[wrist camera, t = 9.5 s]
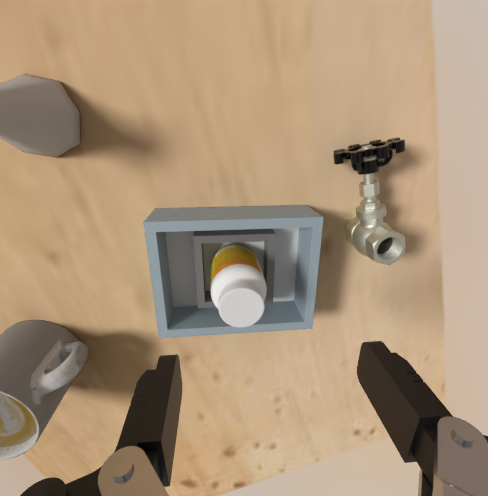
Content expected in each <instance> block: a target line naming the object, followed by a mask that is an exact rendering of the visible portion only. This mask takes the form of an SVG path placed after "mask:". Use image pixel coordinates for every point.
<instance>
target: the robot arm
mask: <svg viewBox="0 0 488 496" xmlns="http://www.w3.org/2000/svg"><path fill="white" fill-rule="evenodd" d="M357 375H358V379H359V382H360V384H361V386H362V388H363V389H364V391H365V393H366V395H367V396H368V398H369V400H370V402H371V404H372V405H373V407H374V409H375V411H376V412H377V414H378V416H379V418H380V420H381V421H382V423H383V425H384V427H385V428H386V430H387V432H388V434H389V435H390V437H391V439H392V441H393V443H394V444H395V446H396V448H397V450H398V451H399V453H400V455H401V457H402V458H403V460H404V462H405V463H407V462H417V463H418V464H419V466H420V468H421V470H420V474H419V488H418V496H488V436H485V435H482V434H481V432H480V431H479V430H477V429H476V428H475V427H474V426H472V425H471V424H469V423H468V422H466V421H464V420H462V419H459V418H456V417H453V416H452V415H451V414H450V412H449V411H448V410H447V409H446V407H445V406H444V405H443V404H442V403H441V401H440V400H439V399H438V398H437V397H436V395H435V394H434V393H433V392H432V390H431V389H430V388H429V387H428V386H427V384H426V383H425V382H423V380H422V378H421V377H420V376H419V375H418V374H416V371H415V370H414V369H413V367H412V366H411V365H410V364H409V363H408V361H406V360H405V359H404V358H402V357H401V356H400V355H398V354H397V353H391V352H390V351H389V349H388V348H387V347H386V345H385V344H384V343H383V342H381V341H374V342H363V343H362V345H361V350H360V355H359V361H358V366H357ZM181 398H182V378H181V370H180V362H179V356H178V355H166V356H160V357H159V360H158V364H157V368H156V370H146V371H145V373H144V374H143V375H142V376H141V378H140V379H139V380H138V382H137V385H136V388H135V392H134V396H133V398H132V401H131V406H130V407H129V410H128V414H127V417H126V420H125V423H124V426H123V429H122V432H121V435H120V439H119V442H118V445H117V447H116V450H115V451H114V453H113V454H112V455H111V456H110V457H109V458H108V459H107V460H106V461H105V462H104V464H103V466H102V467H100V468H99V469H98V470H96V471H94V472H93V473H91V474H89V475H86V476H84V477H82V478H79V479H77V480H75V481H72V482H70V483H68V484H65V483H64V482H63V481H62V480H61V479H59V478H47V479H43V480H41V481H39V482H37V483H35V484H34V485H32V486H31V487H29V488H28V489H27V490H26V491H24V492H23V493H22V494H21V495H20V496H169V495H168V494H167V492H166V490H165V488H164V487H167V486H170V480H171V473H172V465H173V458H174V450H175V443H176V436H177V428H178V421H179V413H180V406H181Z"/></svg>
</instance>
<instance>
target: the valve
mask: <svg viewBox="0 0 488 496" xmlns="http://www.w3.org/2000/svg"><path fill="white" fill-rule="evenodd" d="M392 149H396V153H400V152H403V151H405V140H400V138H392V139H389V140H387V141H383V142H381V140H374V141H370V142H369V144H364V145H359V144H354V145H350V146H348V149H339V150H335V151H334V163H335V164H342V163H343V158H344V159H351V163H352V167H353V169H354V170H355V171H357V172H358V174H363V180H364V181H363V182H361V183H360V184H359V190H360V196H362V197H364V200H363V201H361V202H360V203H361V205H359V206H357V207H356V217H355V218H353V219H352V220H351V221H350V222H349V223H348V224H346V225H345V230H346V239H347V241H348V242H350V243H351V244H352V245H354V247H355V248H356V250H357V251H358V252H359V253H361V254H363V255H365V256H367V257H369V258H371V259H372V260H373V261H376V262H379V263H382V264H387V265H391V264H392V263H394V262H395V261H397V260H398V259H399V258H400V257H401V256H402V255H403V254H404V253H405V250H406V241H405V235H403V234H401V233H399V232H397V231H394V230H392V228H391V227H390V226H389V225H388V224H387V223H385V222H384V221H383V217H385V216H386V214H387V211H386V205H385V204H384V203H380V200H379V199H377V198H376V195H378V194H380V186H379V181H378V180H374V173H375V172H377V171H379V167H381V166H384V165H386V164H387V163H389V162H390V160H391V158H392V154H393V151H392ZM383 158H385V159H383ZM379 159H383V160H379Z"/></svg>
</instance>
